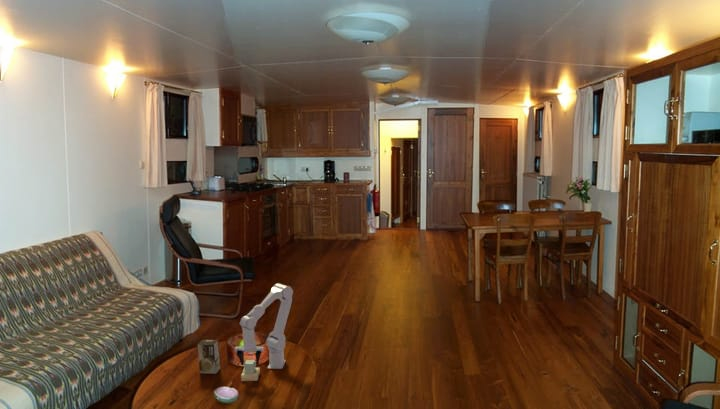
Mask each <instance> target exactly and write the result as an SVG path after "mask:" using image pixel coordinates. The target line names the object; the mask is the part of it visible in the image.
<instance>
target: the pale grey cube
mask: <svg viewBox="0 0 720 409" xmlns="http://www.w3.org/2000/svg"><path fill="white" fill-rule="evenodd" d="M256 368H257V365H256V359H246V360H245V361H244V364H243V369H244V372H245V373H254V371H255V369H256Z"/></svg>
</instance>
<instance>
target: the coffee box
mask: <svg viewBox="0 0 720 409" xmlns="http://www.w3.org/2000/svg"><path fill="white" fill-rule="evenodd" d="M219 346H220V345H219V339H201V340H200V341H199V343H197V351H198V363H199V364H198V367H199V373H200V374H214V375H215V374H217V373H218V372H219V371H220V369H221V365H220V364H221V362H220V359H221V358H220V347H219Z"/></svg>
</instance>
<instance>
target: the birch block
mask: <svg viewBox="0 0 720 409" xmlns="http://www.w3.org/2000/svg"><path fill="white" fill-rule="evenodd" d="M260 369H261V368H260V367H256V369H255V371H254V373H245V372H244V368H243V370H242V373H241V374H240V378H241V379H240V380H241V381H240V382H253V381H255V382H256V381H258V380H259V378H260V377H259V376H260V374H261V373H260V371H261V370H260Z"/></svg>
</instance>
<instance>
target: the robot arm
mask: <svg viewBox="0 0 720 409" xmlns="http://www.w3.org/2000/svg"><path fill="white" fill-rule="evenodd" d="M293 294H294V290H293V288H292V287H291V286H290V285H285V284H283V283H280V282H277V283H275V284H274V285H273V286H272V287H271V289H270V292H269V293H268V294H267V295H266V297H265V298H264V299H263V300H262V301H261V303H260V304H256V305H255V306H253V308H252V309H251V310H250V311H249V313H247V314H246V315H244V316H242V317H241V318H240V320H239V321H240V322H239V326H241V329H242V342H243V344H242V345H241V346H239V345H238V346H235V347H234V353H236V357H238V359H239V362H240V364H241V366H244V363H245V356H244V353H245V352H246V353H250V352H255V354H254V355H255V366H259V364H260V358H261V355H262V352H263V353H264V351H265V347H264V346H259V345H258V346H257V345H256V341H255V340H256V339H255V338H256V337H255V327H256V326H257V323H258V320H260V318H261V317H262V316H263V315H264V314H265V312H266V309H267V308H268V307H269V306H270V305H271V304H272V303H274V301H275V300H280V305H279V309H278V312H277V315H276V316H277V317H276V319H275V320H276V321H275V324H274V328H273V330H272V331H271V332H269V334H268V337H267V338H266V339H265V340H266V341H265V345H266V347H267V349H268V353H269V354H268V357H269V358H268V359H269V364H268V366H267V369H268V370H269V369H272V370H273V369H274V370H275V369H277V370H279V369H280V370H281V369H283V368H284V366H285V363H286V362H287V361H286V359H285V358H284V357H285V351H284V350H285V348H286V335H285V333H284V332H285V329H286V324H287V323H288V322H287V321H288V317H289V314H290V310H291V306H292V302H293Z"/></svg>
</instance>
